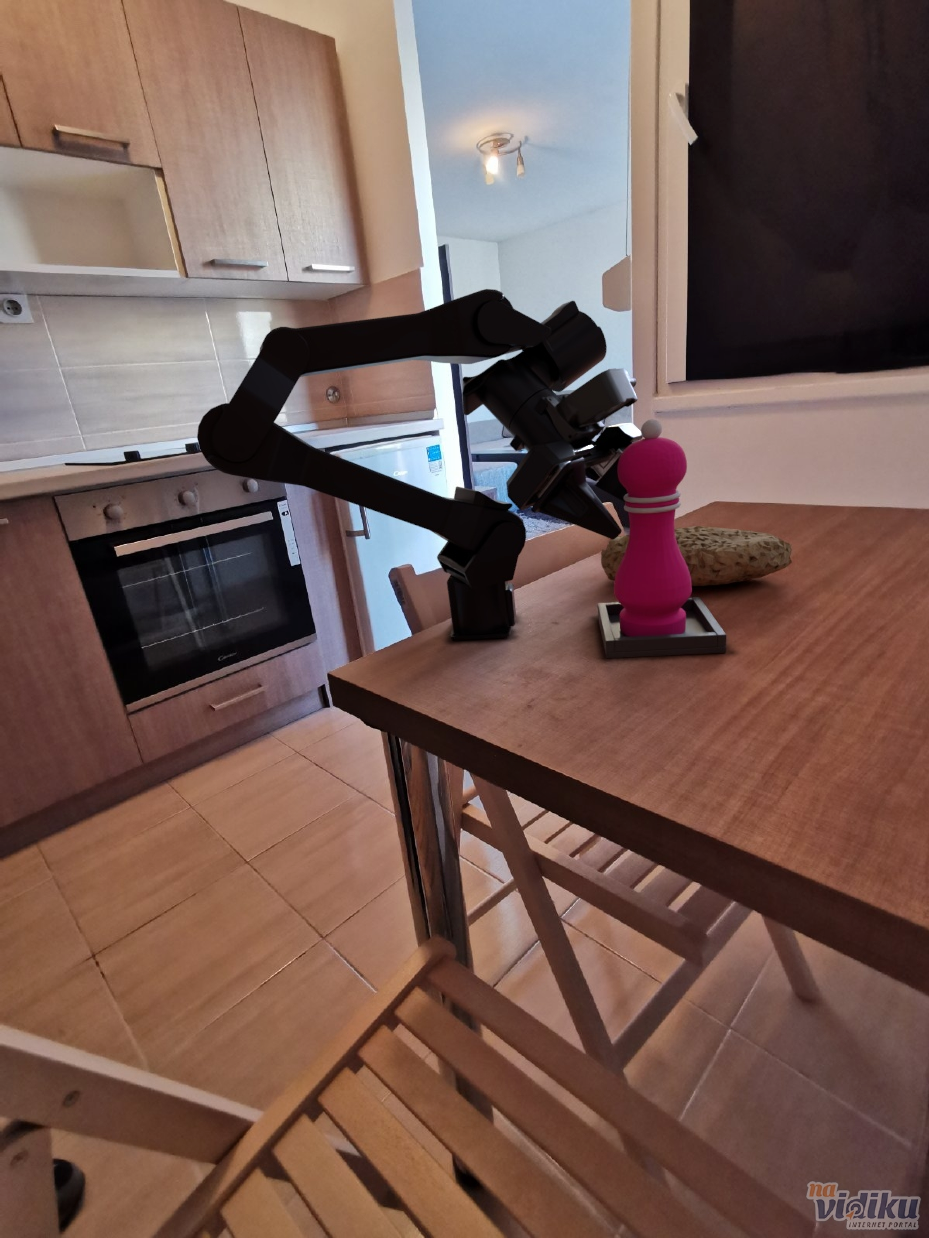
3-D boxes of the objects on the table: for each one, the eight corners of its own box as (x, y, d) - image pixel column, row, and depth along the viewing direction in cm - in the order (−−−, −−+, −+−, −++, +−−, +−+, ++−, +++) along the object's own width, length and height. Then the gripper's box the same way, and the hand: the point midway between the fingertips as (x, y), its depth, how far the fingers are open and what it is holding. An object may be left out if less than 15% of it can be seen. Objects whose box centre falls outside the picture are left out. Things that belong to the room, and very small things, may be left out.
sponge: (598, 600, 74) (771, 584, 60) (590, 538, 73) (762, 507, 60) (645, 588, 83) (803, 571, 70) (638, 533, 83) (795, 505, 69)
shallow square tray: (606, 658, 55) (605, 640, 54) (598, 618, 65) (597, 603, 64) (726, 652, 53) (726, 634, 53) (699, 612, 63) (699, 596, 62)
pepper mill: (698, 619, 60) (703, 412, 53) (681, 647, 54) (684, 419, 47) (627, 613, 63) (623, 419, 57) (604, 638, 58) (597, 426, 51)
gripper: (523, 341, 47) (660, 479, 44) (622, 340, 60) (733, 446, 57) (459, 448, 54) (572, 572, 51) (559, 426, 68) (654, 523, 65)
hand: (638, 524), depth 56 cm, fingers open, 9 cm apart
